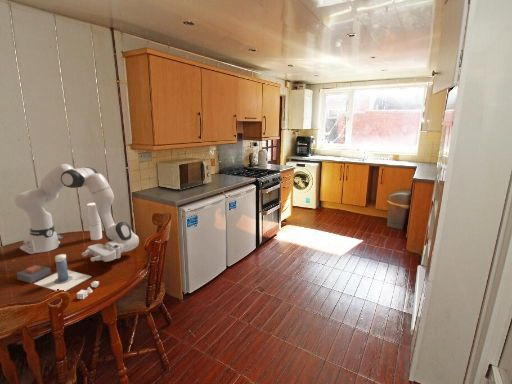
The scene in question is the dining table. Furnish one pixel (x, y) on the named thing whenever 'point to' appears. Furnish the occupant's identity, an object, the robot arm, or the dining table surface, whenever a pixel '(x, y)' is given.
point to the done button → (33, 269)
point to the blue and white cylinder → (61, 267)
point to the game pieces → (83, 293)
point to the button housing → (33, 274)
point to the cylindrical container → (94, 222)
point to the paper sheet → (54, 284)
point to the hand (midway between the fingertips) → (86, 257)
